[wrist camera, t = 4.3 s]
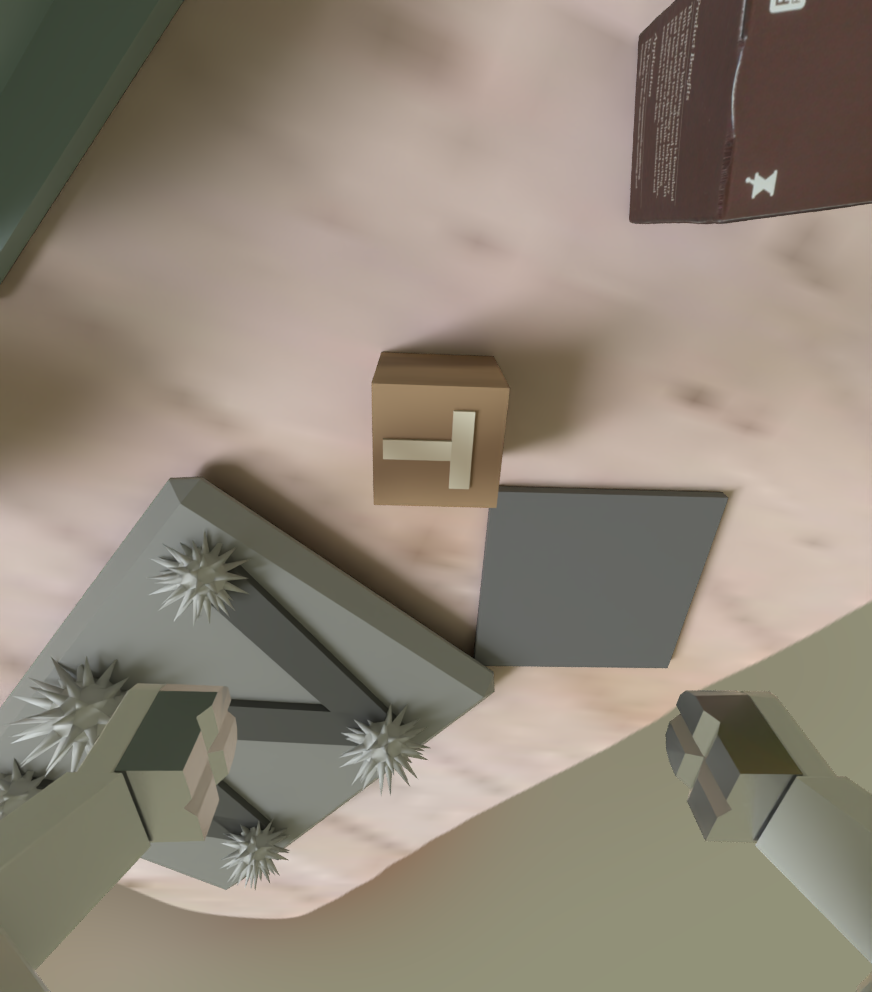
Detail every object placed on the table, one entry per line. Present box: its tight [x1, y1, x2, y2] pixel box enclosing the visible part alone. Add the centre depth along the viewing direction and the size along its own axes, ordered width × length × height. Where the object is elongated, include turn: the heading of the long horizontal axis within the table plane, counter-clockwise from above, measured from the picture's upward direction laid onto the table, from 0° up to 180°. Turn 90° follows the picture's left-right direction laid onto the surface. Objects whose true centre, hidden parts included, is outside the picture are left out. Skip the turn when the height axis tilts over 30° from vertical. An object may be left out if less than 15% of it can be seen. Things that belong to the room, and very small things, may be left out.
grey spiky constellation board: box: [0, 477, 494, 890], centre depth 30 cm, size 30×22×7 cm
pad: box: [473, 486, 728, 668], centre depth 29 cm, size 12×12×1 cm
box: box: [629, 0, 872, 224], centre depth 16 cm, size 6×6×7 cm
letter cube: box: [372, 352, 510, 508], centre depth 22 cm, size 5×5×5 cm
